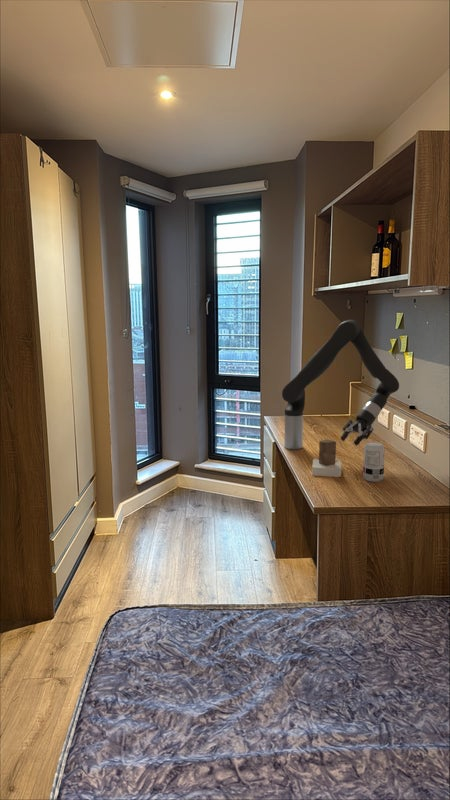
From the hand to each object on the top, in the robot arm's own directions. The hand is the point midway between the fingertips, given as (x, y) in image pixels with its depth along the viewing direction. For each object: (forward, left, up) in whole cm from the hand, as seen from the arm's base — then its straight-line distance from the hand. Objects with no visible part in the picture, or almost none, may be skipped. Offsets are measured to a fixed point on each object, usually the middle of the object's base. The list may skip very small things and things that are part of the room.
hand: (348, 442), depth 223 cm
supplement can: (+15, +10, -12) cm, 21 cm away
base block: (+8, -9, -12) cm, 17 cm away
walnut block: (+8, -9, -8) cm, 14 cm away
